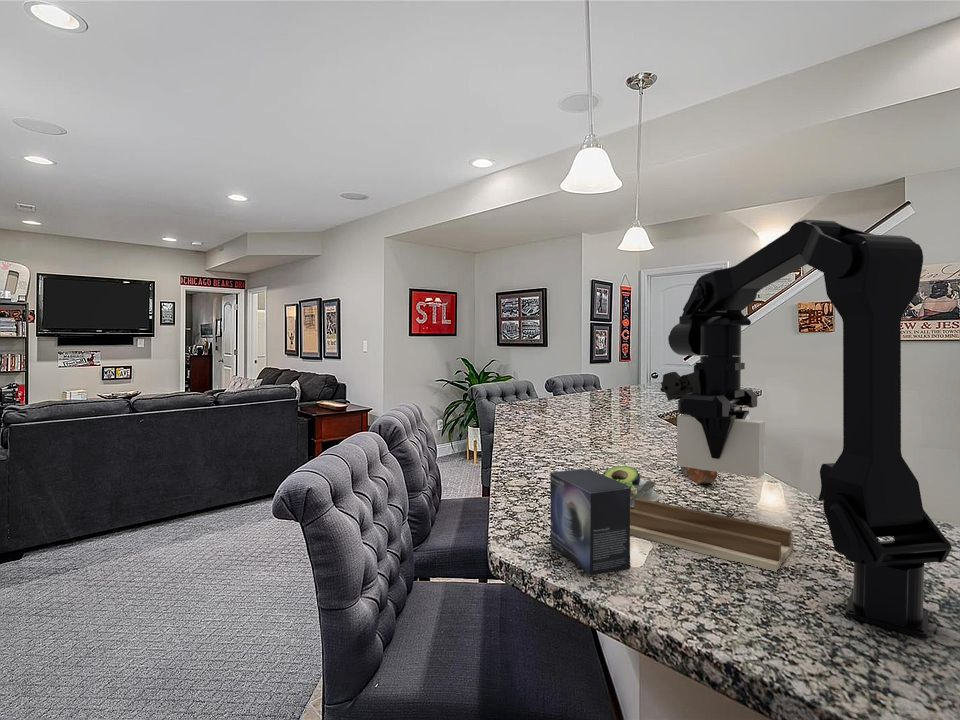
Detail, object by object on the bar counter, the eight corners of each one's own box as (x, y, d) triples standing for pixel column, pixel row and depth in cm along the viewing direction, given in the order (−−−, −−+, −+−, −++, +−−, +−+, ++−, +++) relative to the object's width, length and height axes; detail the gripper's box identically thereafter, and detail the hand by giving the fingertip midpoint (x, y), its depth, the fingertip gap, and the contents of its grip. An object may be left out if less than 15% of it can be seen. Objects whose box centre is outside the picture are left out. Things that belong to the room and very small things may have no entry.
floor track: (776, 572, 64) (776, 548, 64) (612, 530, 79) (612, 510, 79) (793, 549, 72) (793, 527, 72) (640, 514, 86) (641, 496, 86)
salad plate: (680, 518, 85) (681, 490, 85) (570, 515, 87) (571, 488, 86) (650, 486, 105) (650, 463, 105) (560, 484, 106) (560, 462, 106)
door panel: (758, 478, 76) (759, 423, 76) (676, 465, 84) (677, 416, 84) (764, 474, 78) (764, 421, 78) (683, 462, 86) (684, 414, 86)
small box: (546, 545, 73) (547, 470, 73) (586, 539, 75) (587, 467, 75) (587, 576, 63) (588, 490, 63) (632, 568, 66) (633, 485, 65)
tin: (677, 470, 117) (678, 433, 117) (691, 470, 117) (692, 433, 117) (704, 489, 102) (705, 446, 102) (720, 489, 102) (721, 446, 102)
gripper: (689, 355, 93) (689, 442, 93) (644, 356, 79) (643, 458, 80) (758, 356, 86) (757, 450, 86) (721, 357, 72) (720, 470, 72)
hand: (719, 456), depth 81 cm, fingers closed on door panel, 3 cm apart
